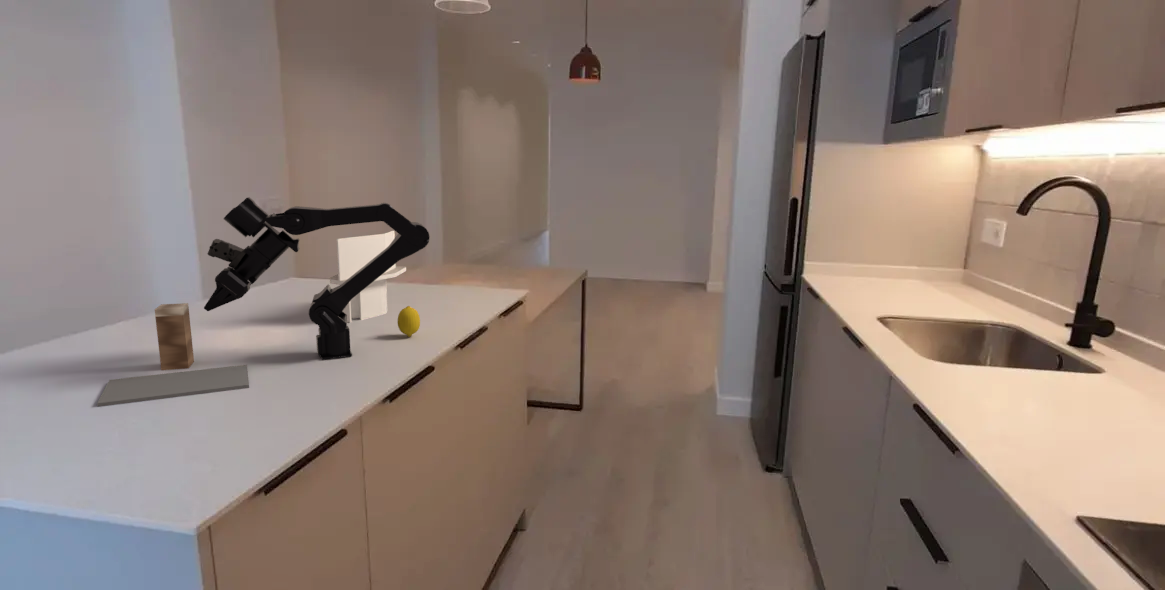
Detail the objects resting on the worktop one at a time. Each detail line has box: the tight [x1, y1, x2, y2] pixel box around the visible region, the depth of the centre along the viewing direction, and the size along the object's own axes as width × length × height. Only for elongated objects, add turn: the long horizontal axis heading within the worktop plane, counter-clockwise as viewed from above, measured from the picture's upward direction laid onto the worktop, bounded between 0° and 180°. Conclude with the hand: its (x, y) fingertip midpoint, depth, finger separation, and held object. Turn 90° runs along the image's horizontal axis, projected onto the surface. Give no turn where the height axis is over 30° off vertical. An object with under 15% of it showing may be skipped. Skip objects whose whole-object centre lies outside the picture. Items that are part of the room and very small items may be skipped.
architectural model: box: [329, 230, 407, 324], centre depth 186 cm, size 28×21×23 cm
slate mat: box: [96, 364, 250, 407], centre depth 127 cm, size 24×14×1 cm, turn 118°
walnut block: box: [154, 302, 195, 371], centre depth 137 cm, size 5×5×13 cm
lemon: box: [397, 305, 421, 338], centre depth 164 cm, size 6×6×8 cm
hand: (210, 304), depth 138 cm, fingers open, 9 cm apart
